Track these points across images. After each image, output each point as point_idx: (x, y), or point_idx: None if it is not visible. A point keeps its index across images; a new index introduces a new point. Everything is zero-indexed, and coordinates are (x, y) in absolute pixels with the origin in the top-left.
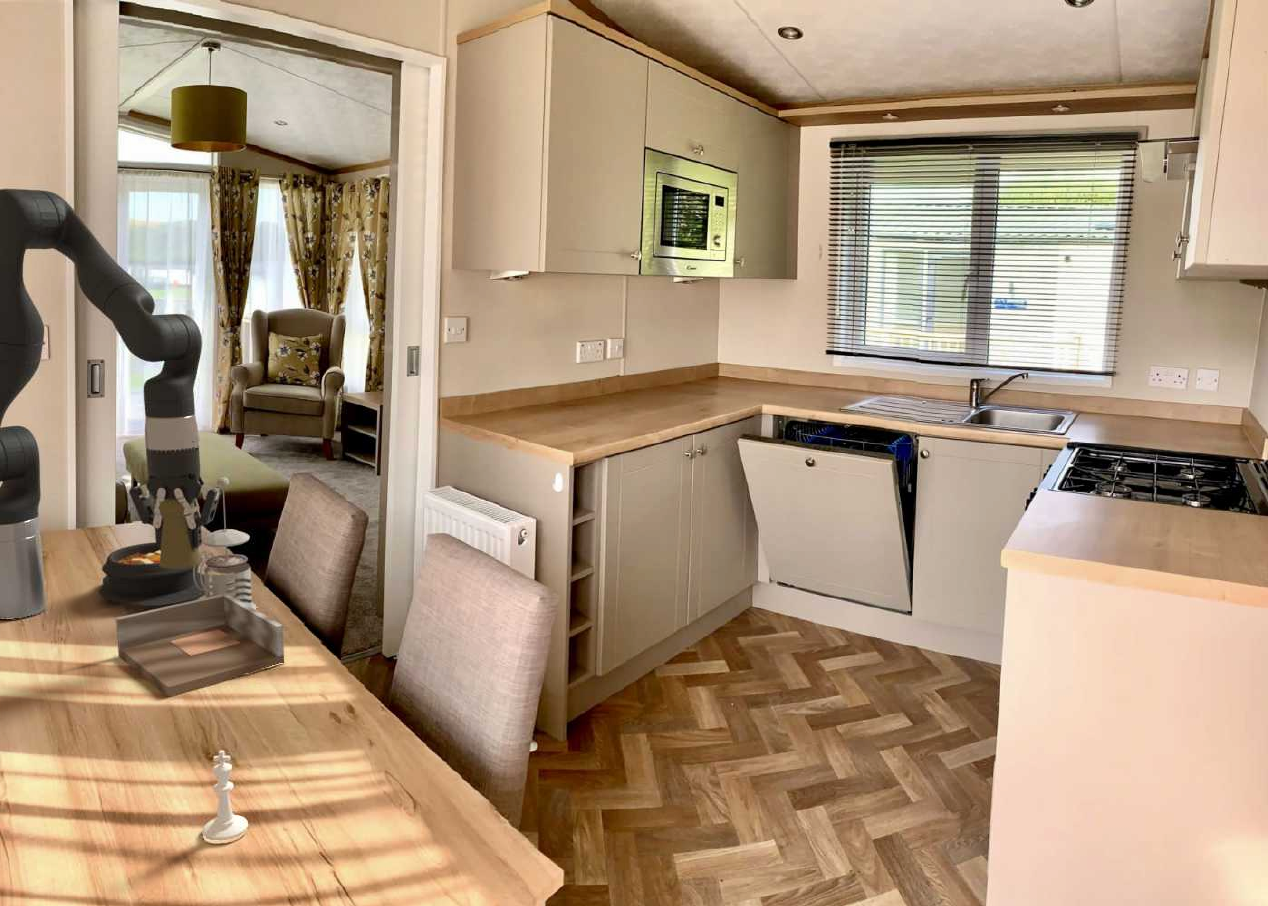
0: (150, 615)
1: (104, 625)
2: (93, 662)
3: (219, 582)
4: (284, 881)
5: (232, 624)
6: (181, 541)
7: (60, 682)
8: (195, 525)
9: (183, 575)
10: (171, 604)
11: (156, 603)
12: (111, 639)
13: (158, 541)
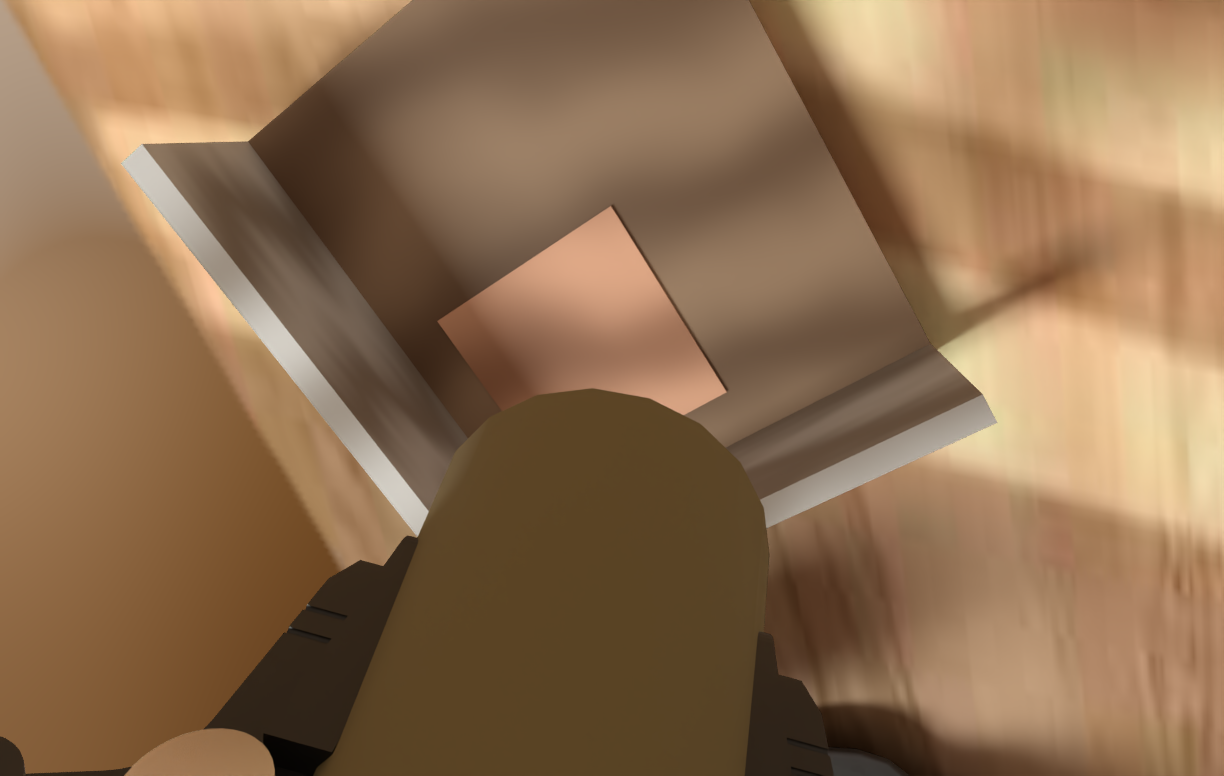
0: (821, 463)
1: (1016, 674)
2: (1031, 307)
3: None
4: None
5: None
6: (466, 579)
7: (1166, 92)
8: (140, 772)
9: None
10: None
11: (836, 767)
12: (976, 536)
13: (793, 733)
